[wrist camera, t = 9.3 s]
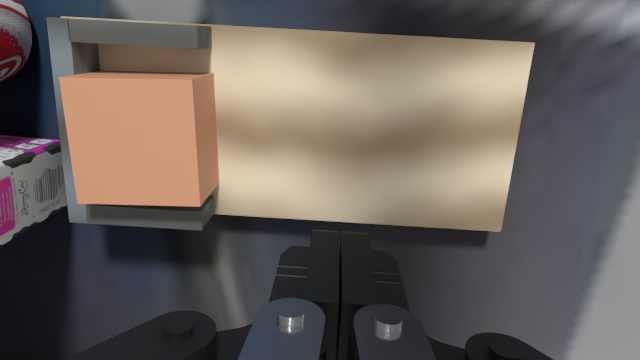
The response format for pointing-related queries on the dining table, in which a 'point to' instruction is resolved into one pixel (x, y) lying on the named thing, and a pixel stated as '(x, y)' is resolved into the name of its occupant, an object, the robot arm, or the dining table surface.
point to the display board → (323, 120)
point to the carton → (142, 137)
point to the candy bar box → (29, 183)
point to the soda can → (13, 38)
